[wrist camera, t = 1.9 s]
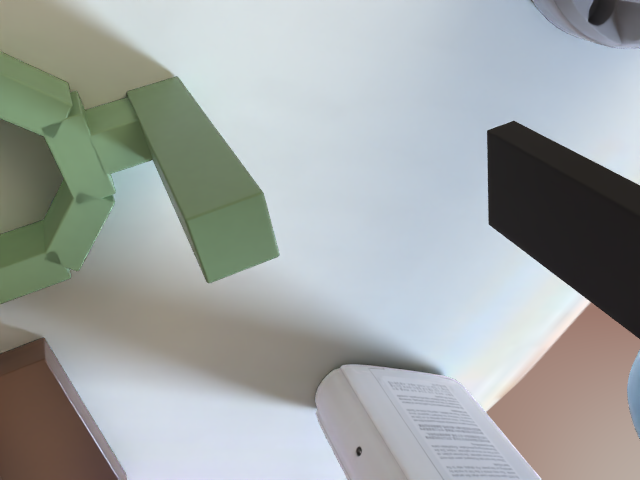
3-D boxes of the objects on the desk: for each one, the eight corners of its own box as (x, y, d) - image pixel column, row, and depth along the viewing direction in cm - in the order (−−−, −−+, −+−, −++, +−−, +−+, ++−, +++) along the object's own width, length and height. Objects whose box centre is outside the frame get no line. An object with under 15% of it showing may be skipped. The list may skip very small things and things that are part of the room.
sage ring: (-84, 297, 23) (-142, 533, 15) (-234, 90, 19) (-441, 269, 10) (214, 192, 26) (303, 343, 18) (149, -13, 21) (230, 63, 13)
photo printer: (299, 414, 35) (406, 626, 25) (331, 354, 34) (457, 554, 24) (432, 422, 40) (562, 600, 31) (464, 371, 39) (611, 540, 29)
